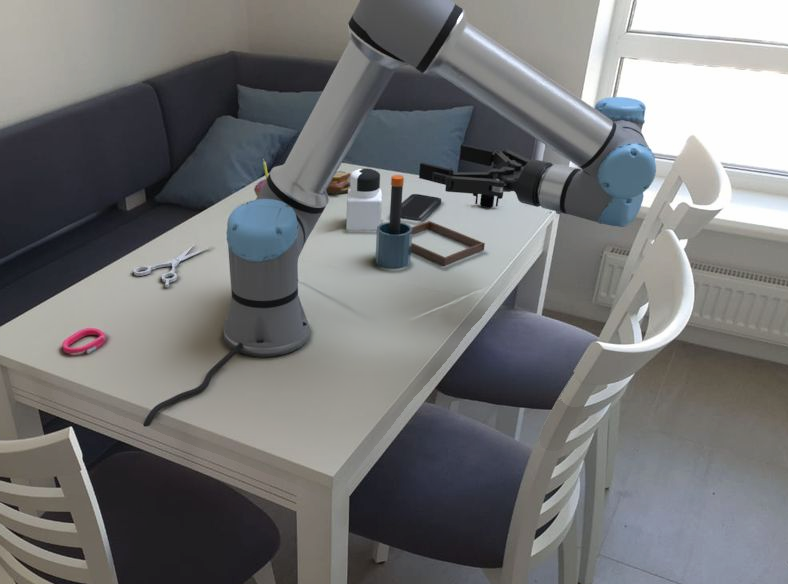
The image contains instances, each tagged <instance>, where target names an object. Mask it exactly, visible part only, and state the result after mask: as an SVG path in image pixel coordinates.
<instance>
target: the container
mask: <svg viewBox="0 0 788 584" xmlns="http://www.w3.org/2000/svg"><path fill="white" fill-rule="evenodd" d="M350 174H351V183H350V189H348V192H347V198H346V225H345V227H346V230H347V231H377V226H379V225H380V224H382V206H383V190H382V189H381V188H380V185H381V173H380V172H379V171H377V170H376V169H373V168H365V167H364V168H358V169H355V170H353V171H352V172H351V173H350Z"/></svg>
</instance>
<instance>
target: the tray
mask: <svg viewBox="0 0 788 584" xmlns="http://www.w3.org/2000/svg"><path fill="white" fill-rule="evenodd" d="M411 227H412V236H414V235H416V234H419V233H422V232H425V231H428V230H430V231H432V232H435V233H437V234H440V235H442V236H445V237H447V238H449V239H452V240H454V241H457V242H459V243H462V244H464V245H466V246H469V247H467V248H465V249H462V250H460V251H456V252H455V253H452V254H449V255H447V256H443V255H442V254H439V253H437V252H435V251H433V250H430V249H427V248H426V247H422V246H421V245H418V244H416V243H413V242H412V244H411V253H414V254H416V255H418V256H421V257H423V258H425V259H427V260H430V261H432V262H434V263H436V264H439V265H441V266H443V267H446V266H448V265H451V264H453V263H456V262H458V261H461V260H463V259H466V258H468V257H471V256H474V255H476V254H479V253H481V252H483V251H485V245H486V243H485V242H484V241H481V240H478V239H475V238H473V237H470V236H468V235H465V234H464V233H461V232H458V231H456V230H453V229H450V228H448V227H445V226H443V225H441V224H438V223H436V222H433V221H431V220H428V221H426V222H425V221H424V222H422V223H420V224H416V225H414V226H411Z"/></svg>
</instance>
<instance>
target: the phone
mask: <svg viewBox="0 0 788 584" xmlns="http://www.w3.org/2000/svg"><path fill="white" fill-rule="evenodd" d="M441 204H442V198H440V197H437V196H431V195H425V194H420V193H412V194H410V195H409V196H408V197H407V198H405V199H404V201H402V206H401V219H406V220H410V221H414V222H415V221H416V222H422V223H424V222H425V220H426V219H427V218H428V217H430V215H431V214H432V213H433V212H434V211H436V209H438V208H439V207H440V206H441Z"/></svg>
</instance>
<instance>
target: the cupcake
mask: <svg viewBox="0 0 788 584" xmlns="http://www.w3.org/2000/svg"><path fill="white" fill-rule="evenodd" d="M262 160H263V161H262V165H263V169H264V176H265V179H262V180H260V181H258V182H257V183H256V185H255V186H254V187H253V191H254V193H255V195H256V197H257V196H258V194H259V192H260V191H261V189H262V187H263V185H264V183H265V181H266V179H267V177H268V175H269V172H268V167H267V162H266V161H265V159H264V158H262Z"/></svg>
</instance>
